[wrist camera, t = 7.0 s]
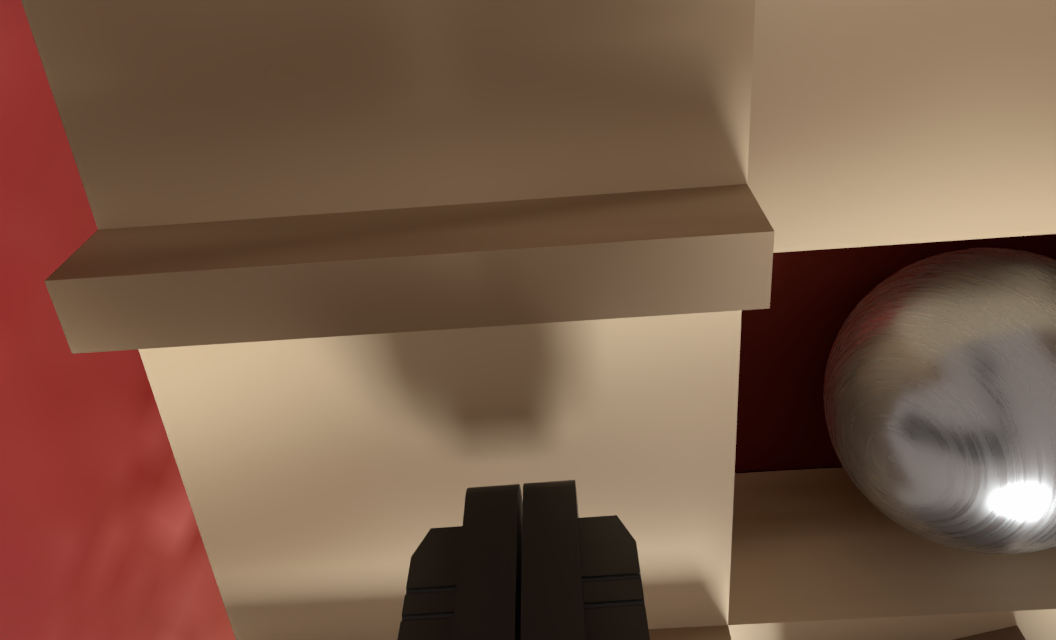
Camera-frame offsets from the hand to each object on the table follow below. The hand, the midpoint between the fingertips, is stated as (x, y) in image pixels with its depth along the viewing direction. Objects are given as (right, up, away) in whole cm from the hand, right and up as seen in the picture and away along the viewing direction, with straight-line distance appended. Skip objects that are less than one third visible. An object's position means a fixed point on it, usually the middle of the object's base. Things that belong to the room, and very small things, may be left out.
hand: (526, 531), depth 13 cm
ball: (+8, +2, +2) cm, 8 cm away
